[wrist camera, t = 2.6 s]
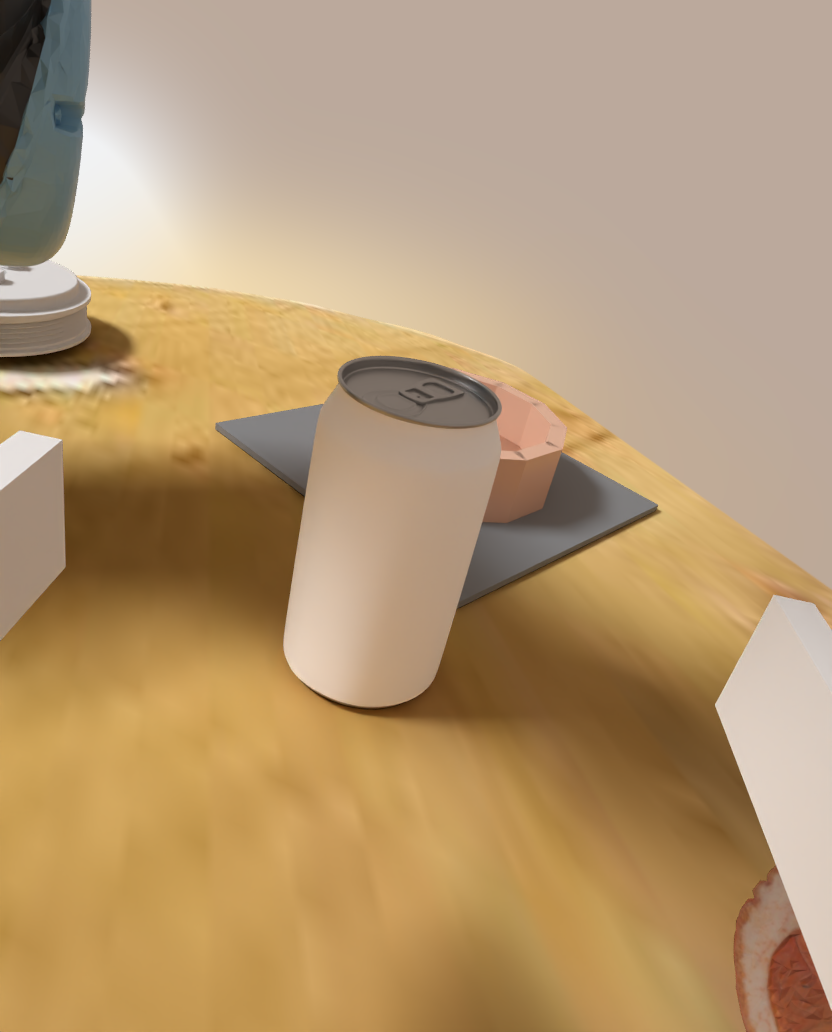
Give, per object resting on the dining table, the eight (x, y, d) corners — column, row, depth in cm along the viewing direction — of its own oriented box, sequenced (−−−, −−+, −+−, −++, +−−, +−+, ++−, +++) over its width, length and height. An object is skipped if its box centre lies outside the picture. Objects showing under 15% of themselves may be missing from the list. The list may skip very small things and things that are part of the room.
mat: (215, 429, 46) (215, 423, 46) (435, 388, 60) (437, 383, 60) (454, 609, 36) (456, 603, 35) (656, 510, 49) (658, 504, 49)
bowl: (297, 438, 47) (306, 376, 45) (439, 408, 56) (451, 356, 54) (451, 545, 40) (470, 478, 38) (585, 491, 49) (605, 435, 47)
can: (247, 649, 30) (283, 366, 25) (352, 589, 35) (404, 341, 29) (369, 742, 28) (444, 449, 22) (465, 663, 33) (548, 406, 27)
